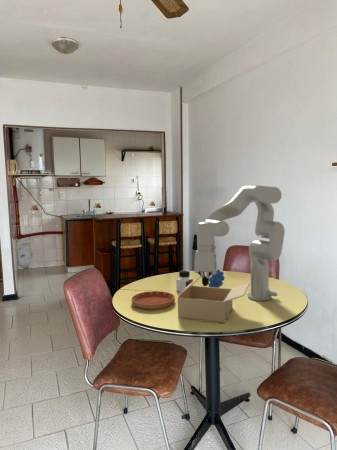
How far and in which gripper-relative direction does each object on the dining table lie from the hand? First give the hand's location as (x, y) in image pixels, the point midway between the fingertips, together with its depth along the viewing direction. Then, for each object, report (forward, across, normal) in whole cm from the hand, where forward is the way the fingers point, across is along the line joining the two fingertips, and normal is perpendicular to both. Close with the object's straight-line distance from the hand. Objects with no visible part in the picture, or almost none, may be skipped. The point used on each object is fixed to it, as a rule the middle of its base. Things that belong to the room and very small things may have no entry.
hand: (205, 285), depth 167 cm
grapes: (+14, +4, -38) cm, 41 cm away
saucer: (+14, +30, -5) cm, 33 cm away
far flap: (+1, +7, 0) cm, 7 cm away
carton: (+14, 0, 0) cm, 14 cm away
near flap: (+2, -15, 0) cm, 15 cm away
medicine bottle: (+14, +21, -31) cm, 40 cm away
